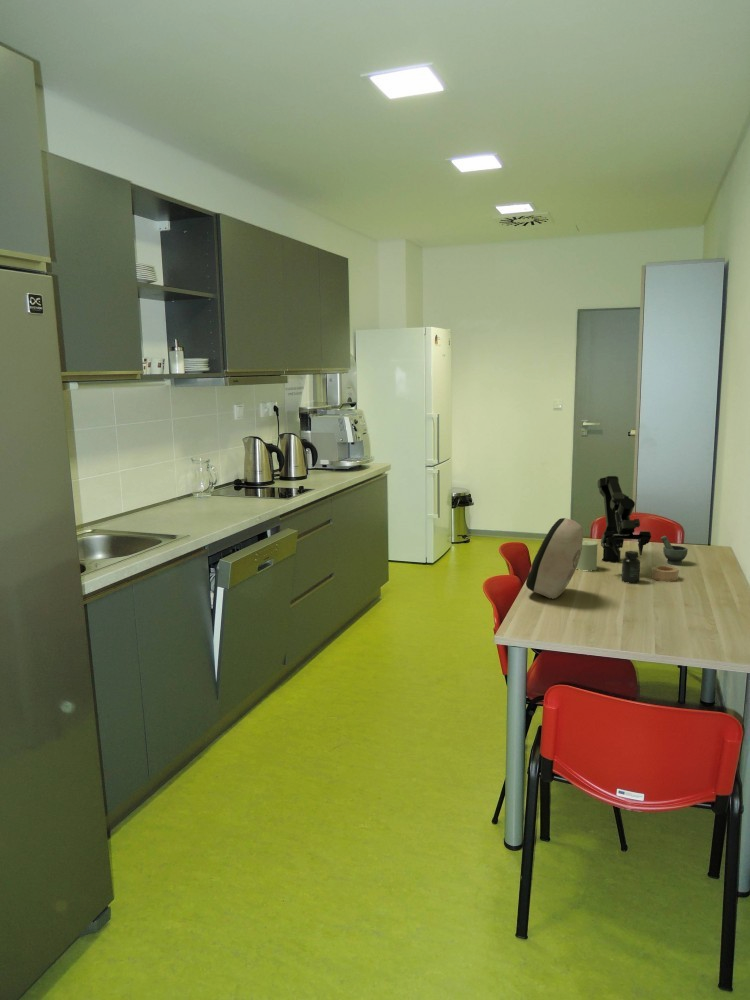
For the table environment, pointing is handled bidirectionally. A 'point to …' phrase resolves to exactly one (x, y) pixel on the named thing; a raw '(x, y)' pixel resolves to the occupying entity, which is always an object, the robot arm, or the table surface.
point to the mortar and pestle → (673, 552)
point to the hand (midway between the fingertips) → (629, 554)
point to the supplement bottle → (631, 567)
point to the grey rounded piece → (556, 559)
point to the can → (588, 556)
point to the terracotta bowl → (665, 573)
